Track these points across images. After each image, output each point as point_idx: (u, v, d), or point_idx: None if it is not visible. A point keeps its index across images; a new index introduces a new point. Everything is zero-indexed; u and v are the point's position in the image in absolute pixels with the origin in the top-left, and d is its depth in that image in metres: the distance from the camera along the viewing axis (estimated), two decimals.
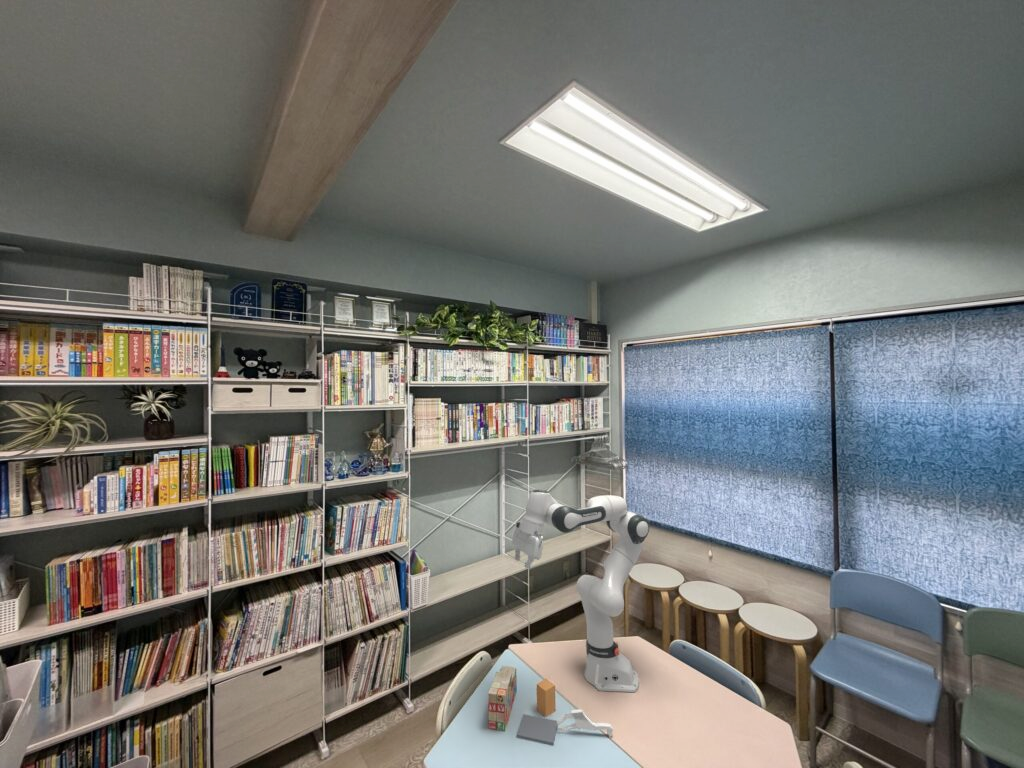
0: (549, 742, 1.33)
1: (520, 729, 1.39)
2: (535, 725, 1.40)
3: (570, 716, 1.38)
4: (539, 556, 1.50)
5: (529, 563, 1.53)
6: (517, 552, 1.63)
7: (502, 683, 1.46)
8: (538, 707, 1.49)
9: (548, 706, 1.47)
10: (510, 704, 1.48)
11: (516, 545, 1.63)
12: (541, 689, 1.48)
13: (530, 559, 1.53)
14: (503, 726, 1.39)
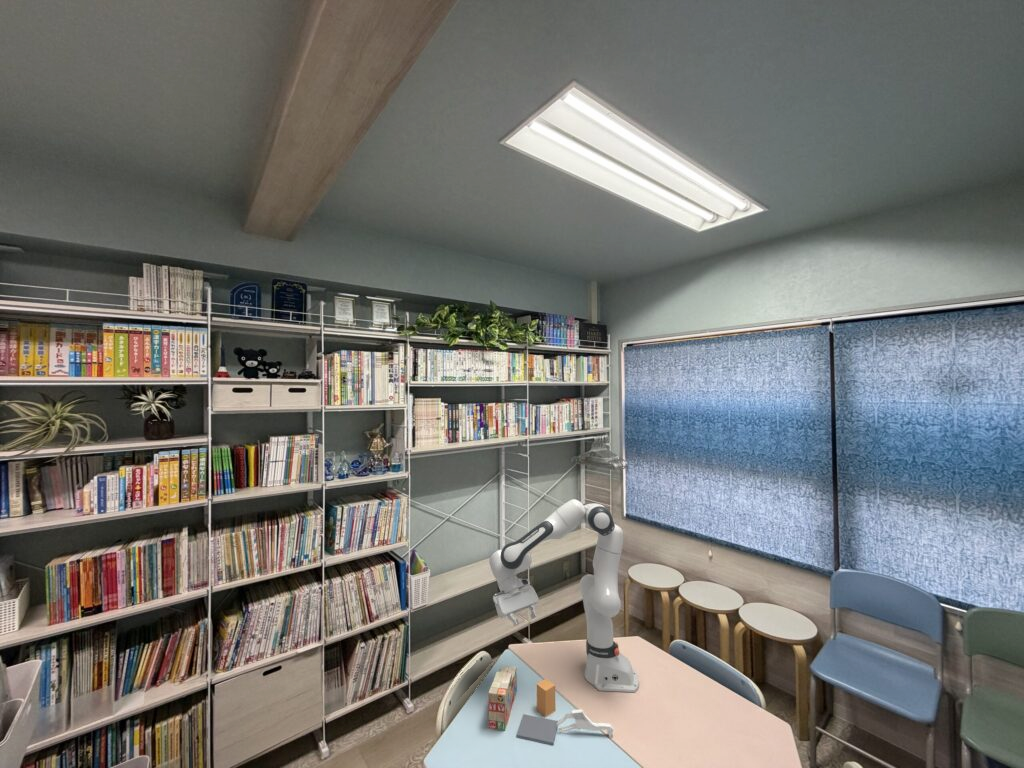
0: (549, 742, 1.33)
1: (520, 729, 1.39)
2: (535, 725, 1.40)
3: (570, 716, 1.38)
4: (501, 612, 1.57)
5: (513, 620, 1.58)
6: (531, 610, 1.65)
7: (502, 683, 1.46)
8: (538, 707, 1.49)
9: (548, 706, 1.47)
10: (510, 704, 1.48)
11: None
12: (541, 689, 1.48)
13: (509, 617, 1.59)
14: (503, 726, 1.39)
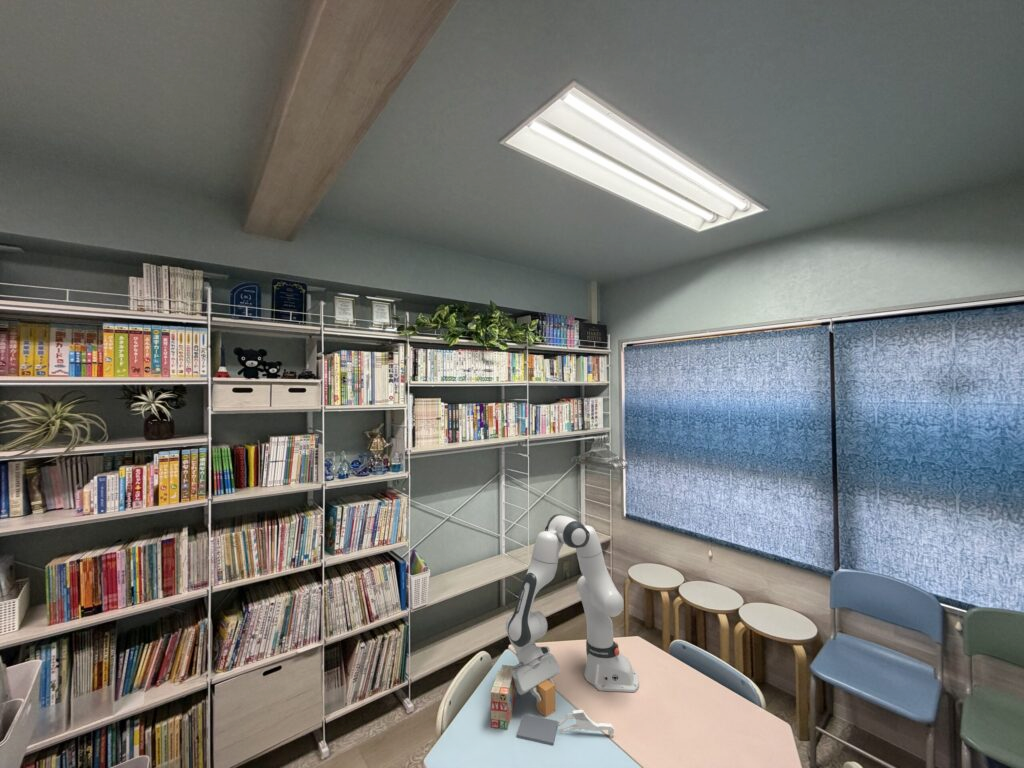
0: (549, 742, 1.33)
1: (520, 729, 1.39)
2: (535, 725, 1.40)
3: (571, 716, 1.38)
4: (520, 689, 1.46)
5: (536, 696, 1.47)
6: None
7: (504, 682, 1.47)
8: (538, 707, 1.49)
9: (548, 706, 1.47)
10: (512, 702, 1.49)
11: None
12: (541, 689, 1.48)
13: (532, 692, 1.48)
14: (506, 724, 1.40)
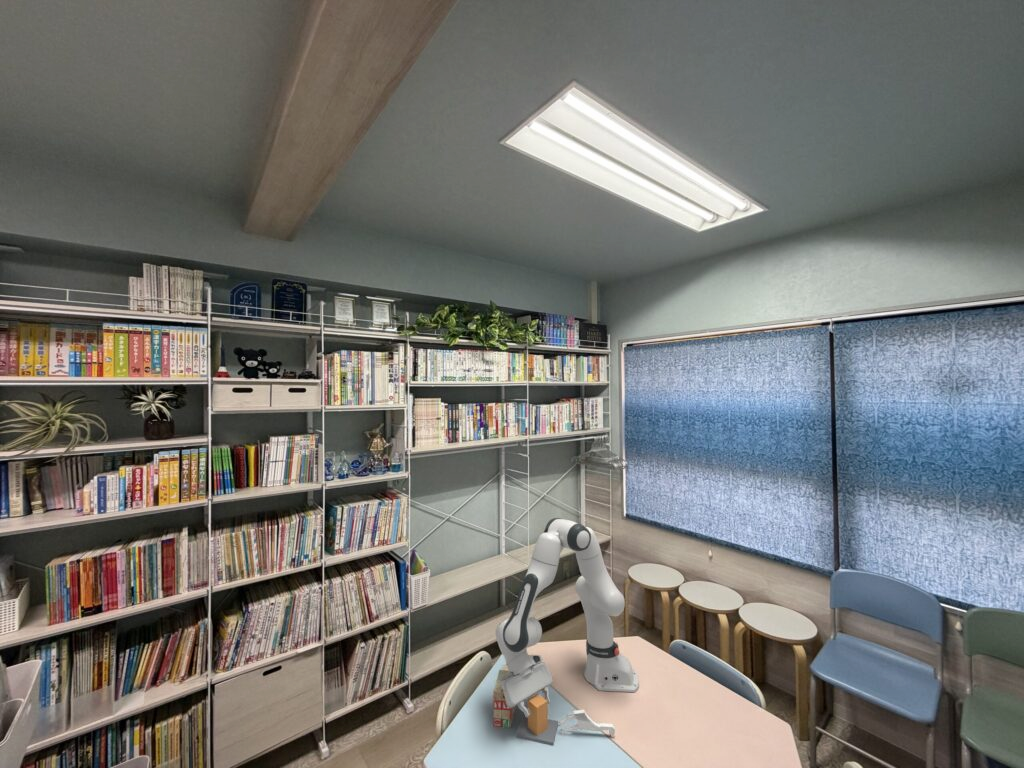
0: (549, 742, 1.33)
1: (520, 729, 1.39)
2: None
3: (572, 717, 1.38)
4: (510, 702, 1.36)
5: (524, 710, 1.37)
6: (545, 694, 1.45)
7: None
8: (529, 724, 1.39)
9: (540, 724, 1.37)
10: None
11: None
12: (532, 706, 1.38)
13: (519, 706, 1.38)
14: (508, 723, 1.41)
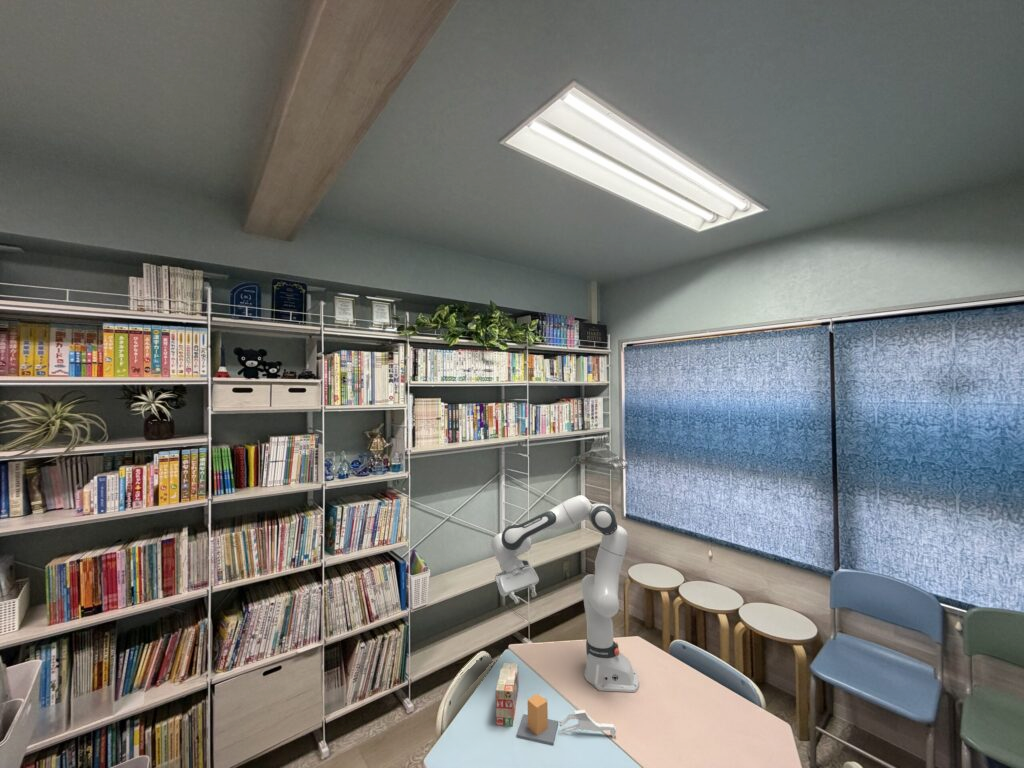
0: (549, 742, 1.33)
1: (520, 729, 1.39)
2: None
3: (573, 717, 1.38)
4: (502, 590, 1.65)
5: (514, 598, 1.65)
6: (532, 589, 1.73)
7: (508, 680, 1.48)
8: (529, 724, 1.39)
9: (540, 724, 1.37)
10: (515, 700, 1.50)
11: None
12: (532, 706, 1.38)
13: (510, 595, 1.66)
14: (511, 722, 1.41)
